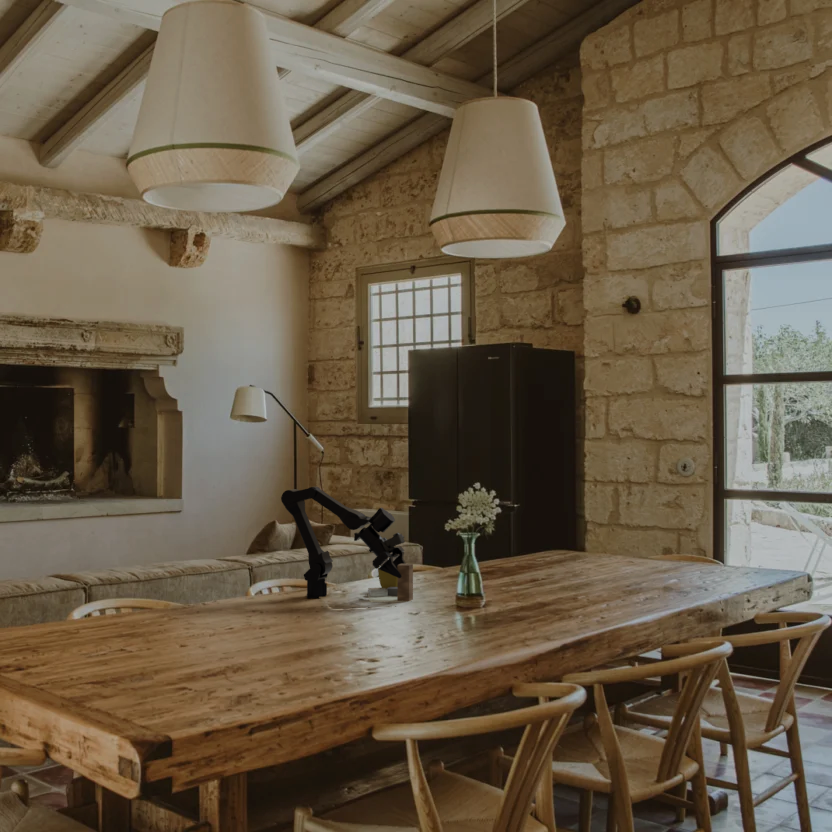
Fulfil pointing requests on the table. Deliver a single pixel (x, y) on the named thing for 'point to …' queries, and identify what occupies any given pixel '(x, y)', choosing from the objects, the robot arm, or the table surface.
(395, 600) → the sage board
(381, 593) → the grey metal block
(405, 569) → the walnut post
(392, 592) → the black rubber block
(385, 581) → the flower pot
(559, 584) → the table surface
